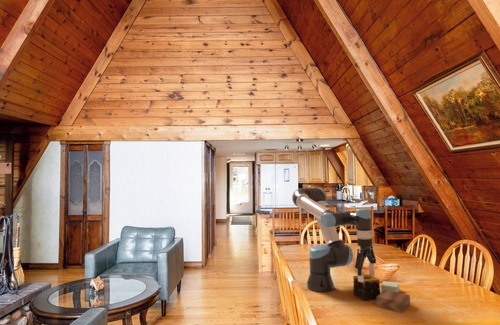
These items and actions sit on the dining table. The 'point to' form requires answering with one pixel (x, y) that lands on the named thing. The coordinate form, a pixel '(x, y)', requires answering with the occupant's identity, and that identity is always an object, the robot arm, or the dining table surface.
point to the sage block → (390, 286)
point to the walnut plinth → (393, 301)
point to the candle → (366, 287)
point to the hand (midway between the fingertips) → (366, 278)
